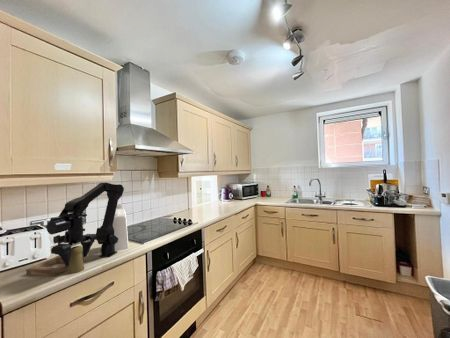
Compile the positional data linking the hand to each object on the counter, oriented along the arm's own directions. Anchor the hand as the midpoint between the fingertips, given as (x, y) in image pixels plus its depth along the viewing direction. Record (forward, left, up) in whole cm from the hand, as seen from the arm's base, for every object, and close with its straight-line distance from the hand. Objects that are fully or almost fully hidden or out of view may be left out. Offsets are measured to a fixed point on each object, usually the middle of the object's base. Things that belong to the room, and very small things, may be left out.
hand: (76, 261), depth 93 cm
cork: (0, 0, -4) cm, 4 cm away
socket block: (-2, -13, -4) cm, 14 cm away
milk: (-29, -1, -4) cm, 29 cm away
